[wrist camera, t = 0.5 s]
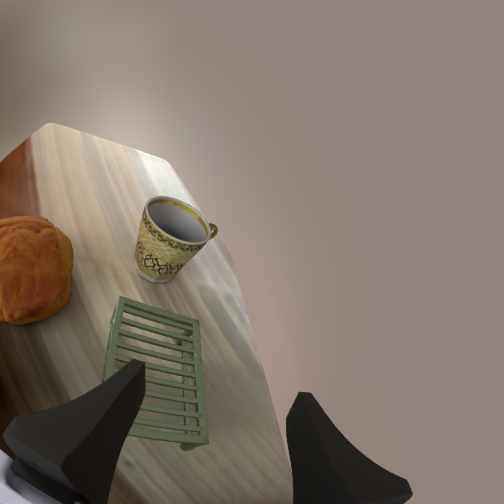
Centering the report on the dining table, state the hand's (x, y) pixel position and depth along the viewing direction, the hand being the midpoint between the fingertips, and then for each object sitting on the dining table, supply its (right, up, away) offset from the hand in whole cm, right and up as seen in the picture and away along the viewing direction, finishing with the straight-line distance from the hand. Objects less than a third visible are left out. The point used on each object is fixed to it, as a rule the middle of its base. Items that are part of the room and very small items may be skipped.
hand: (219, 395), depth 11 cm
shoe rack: (-10, -8, +15) cm, 20 cm away
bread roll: (-27, +3, +13) cm, 30 cm away
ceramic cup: (-13, +4, +31) cm, 33 cm away
